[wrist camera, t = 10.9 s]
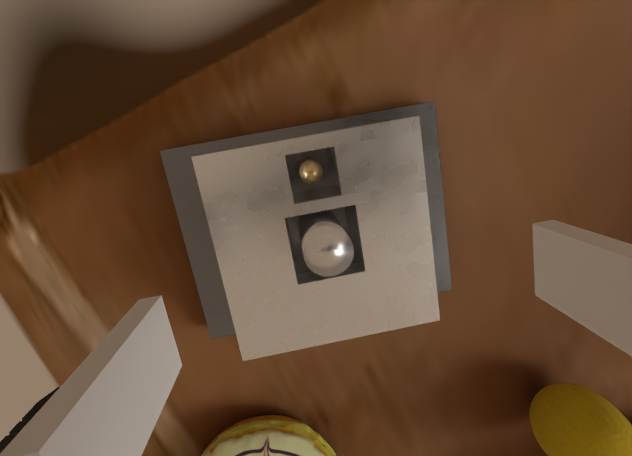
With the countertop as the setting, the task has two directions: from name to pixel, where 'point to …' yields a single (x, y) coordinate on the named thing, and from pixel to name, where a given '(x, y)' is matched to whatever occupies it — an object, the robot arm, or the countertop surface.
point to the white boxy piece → (345, 191)
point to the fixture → (305, 230)
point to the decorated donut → (269, 439)
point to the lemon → (578, 423)
